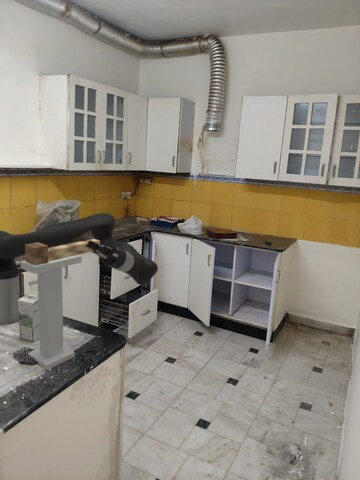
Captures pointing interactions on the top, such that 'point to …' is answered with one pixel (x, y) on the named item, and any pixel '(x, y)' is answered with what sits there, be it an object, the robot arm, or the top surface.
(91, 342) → the top surface
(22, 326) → the syrup box
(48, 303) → the stand
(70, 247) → the mallet
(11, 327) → the top surface
